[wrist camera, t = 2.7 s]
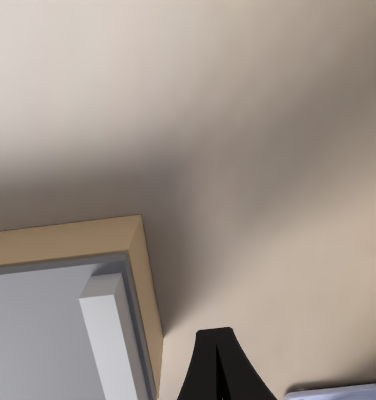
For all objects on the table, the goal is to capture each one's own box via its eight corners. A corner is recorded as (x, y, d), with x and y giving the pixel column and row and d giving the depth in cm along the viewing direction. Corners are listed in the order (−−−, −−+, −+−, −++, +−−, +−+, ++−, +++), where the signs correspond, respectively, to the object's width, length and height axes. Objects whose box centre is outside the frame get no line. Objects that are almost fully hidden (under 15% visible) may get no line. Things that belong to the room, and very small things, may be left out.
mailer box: (141, 214, 16) (128, 249, 13) (163, 338, 19) (158, 399, 15) (-119, 245, 17) (-208, 288, 13) (-64, 363, 19) (-125, 429, 15)
